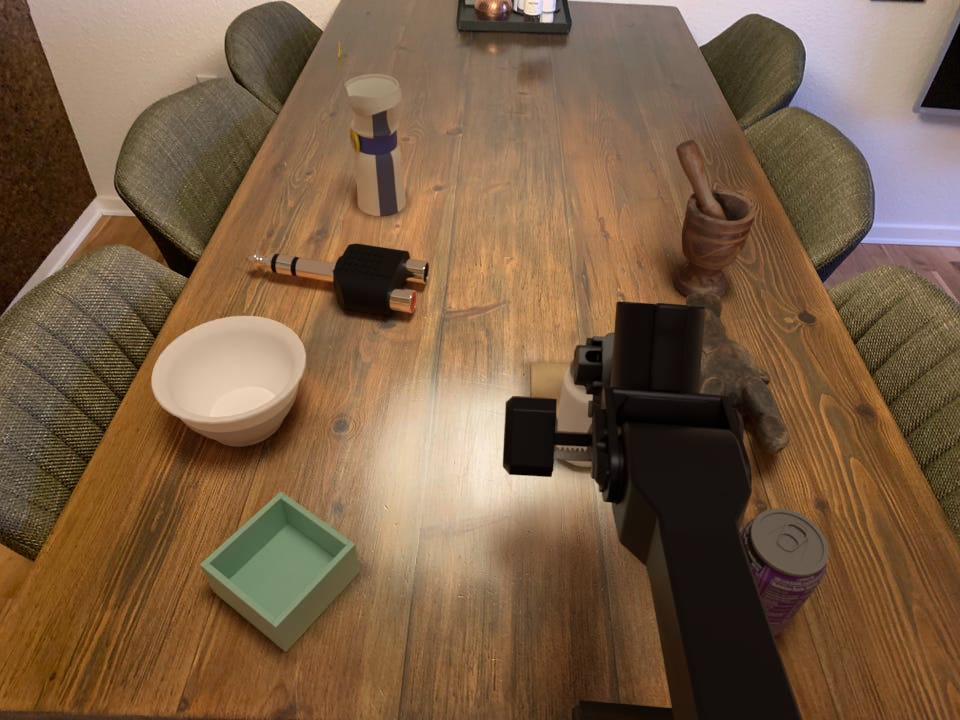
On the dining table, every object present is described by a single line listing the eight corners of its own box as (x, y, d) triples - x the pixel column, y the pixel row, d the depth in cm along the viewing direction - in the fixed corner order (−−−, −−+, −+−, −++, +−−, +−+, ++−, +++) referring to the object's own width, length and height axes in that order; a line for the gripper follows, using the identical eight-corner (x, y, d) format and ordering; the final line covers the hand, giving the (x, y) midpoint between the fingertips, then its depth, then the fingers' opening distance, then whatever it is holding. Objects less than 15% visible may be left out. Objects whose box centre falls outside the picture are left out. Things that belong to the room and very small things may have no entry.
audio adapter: (407, 296, 89) (222, 266, 92) (409, 327, 93) (231, 297, 96) (430, 246, 97) (258, 220, 100) (431, 277, 100) (266, 250, 104)
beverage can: (734, 558, 70) (772, 489, 62) (799, 608, 67) (850, 541, 58) (693, 605, 67) (729, 538, 58) (761, 660, 63) (809, 597, 55)
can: (543, 433, 80) (553, 357, 71) (593, 416, 82) (609, 341, 73) (570, 476, 76) (585, 402, 67) (622, 458, 78) (643, 384, 69)
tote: (360, 571, 68) (355, 543, 65) (286, 652, 63) (275, 627, 59) (289, 519, 72) (280, 490, 69) (213, 591, 66) (199, 564, 63)
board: (639, 462, 78) (641, 457, 78) (531, 456, 79) (531, 452, 78) (627, 371, 88) (628, 366, 88) (530, 366, 88) (531, 361, 88)
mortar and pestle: (642, 292, 99) (673, 163, 85) (649, 257, 105) (680, 131, 91) (727, 309, 97) (773, 180, 83) (729, 272, 103) (773, 145, 89)
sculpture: (730, 321, 95) (746, 282, 90) (788, 482, 78) (813, 444, 73) (655, 319, 95) (668, 279, 90) (697, 481, 77) (716, 442, 72)
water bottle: (364, 223, 109) (347, 60, 92) (348, 195, 115) (329, 36, 97) (415, 212, 112) (407, 51, 94) (397, 185, 117) (386, 28, 99)
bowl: (268, 492, 74) (252, 441, 68) (142, 447, 78) (116, 395, 72) (341, 387, 85) (332, 335, 79) (227, 353, 89) (210, 301, 83)
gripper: (779, 344, 49) (710, 347, 65) (512, 331, 50) (507, 337, 65) (771, 504, 49) (703, 468, 65) (504, 489, 50) (500, 457, 65)
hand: (603, 429), depth 65 cm, fingers open, 9 cm apart
